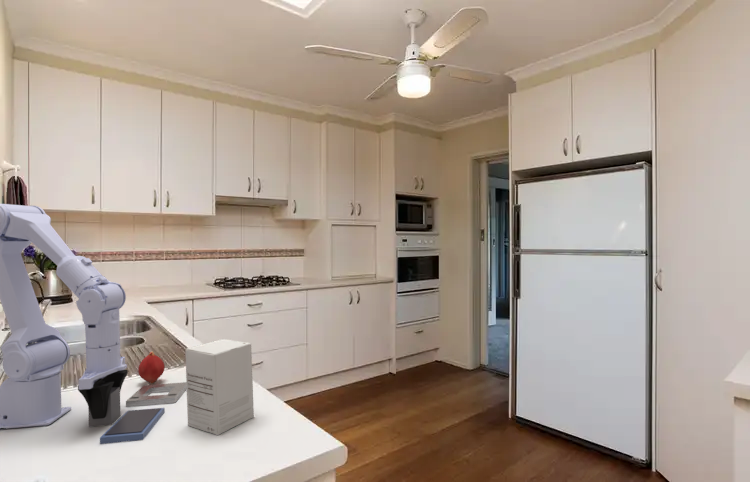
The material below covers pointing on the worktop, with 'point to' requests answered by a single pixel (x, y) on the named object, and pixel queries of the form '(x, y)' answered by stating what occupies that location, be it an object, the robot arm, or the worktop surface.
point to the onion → (151, 368)
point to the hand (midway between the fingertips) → (105, 413)
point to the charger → (109, 410)
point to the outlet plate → (143, 398)
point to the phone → (132, 426)
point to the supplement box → (219, 385)
